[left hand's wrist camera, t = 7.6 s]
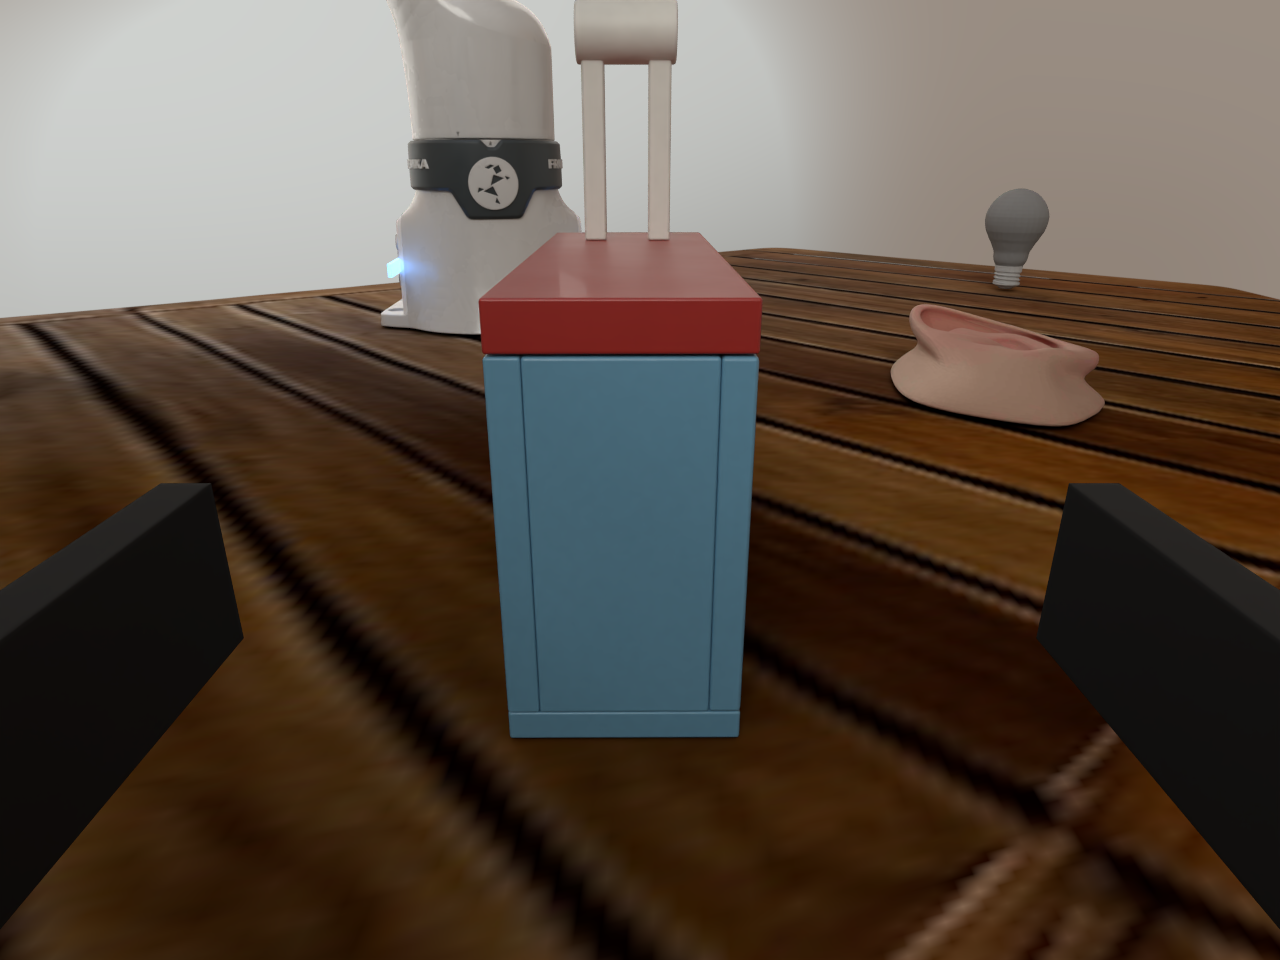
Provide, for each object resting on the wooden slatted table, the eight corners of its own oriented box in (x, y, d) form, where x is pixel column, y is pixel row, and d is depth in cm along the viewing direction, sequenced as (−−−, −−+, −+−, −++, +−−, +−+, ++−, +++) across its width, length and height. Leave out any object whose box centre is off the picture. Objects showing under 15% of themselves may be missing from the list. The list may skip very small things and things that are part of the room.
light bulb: (986, 292, 83) (1002, 189, 79) (967, 284, 89) (981, 187, 85) (1045, 292, 83) (1064, 189, 79) (1023, 284, 88) (1039, 187, 85)
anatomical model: (1141, 354, 38) (887, 338, 41) (1122, 435, 39) (879, 412, 43) (1096, 309, 49) (901, 300, 53) (1083, 373, 51) (894, 359, 54)
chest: (564, 491, 33) (555, 265, 30) (694, 491, 33) (700, 265, 30) (509, 738, 19) (482, 357, 15) (739, 738, 19) (760, 357, 15)
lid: (557, 262, 30) (548, 17, 27) (699, 261, 30) (705, 17, 27) (482, 355, 15) (443, -161, 12) (759, 354, 15) (788, -161, 12)
